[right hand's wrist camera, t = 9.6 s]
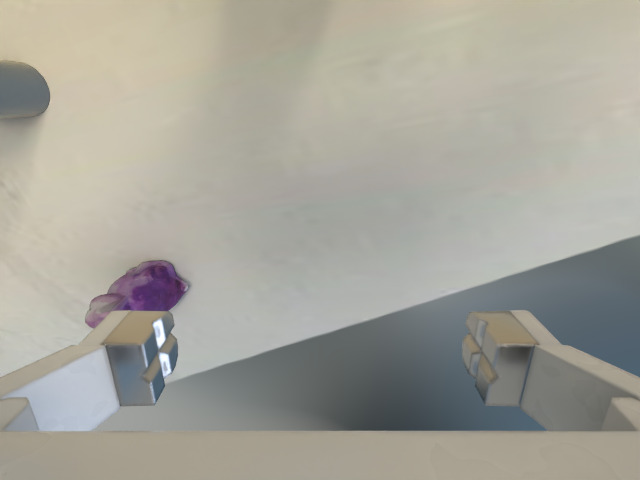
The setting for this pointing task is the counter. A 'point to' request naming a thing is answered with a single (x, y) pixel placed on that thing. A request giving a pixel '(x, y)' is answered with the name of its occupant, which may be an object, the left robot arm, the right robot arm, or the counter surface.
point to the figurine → (139, 292)
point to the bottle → (21, 90)
